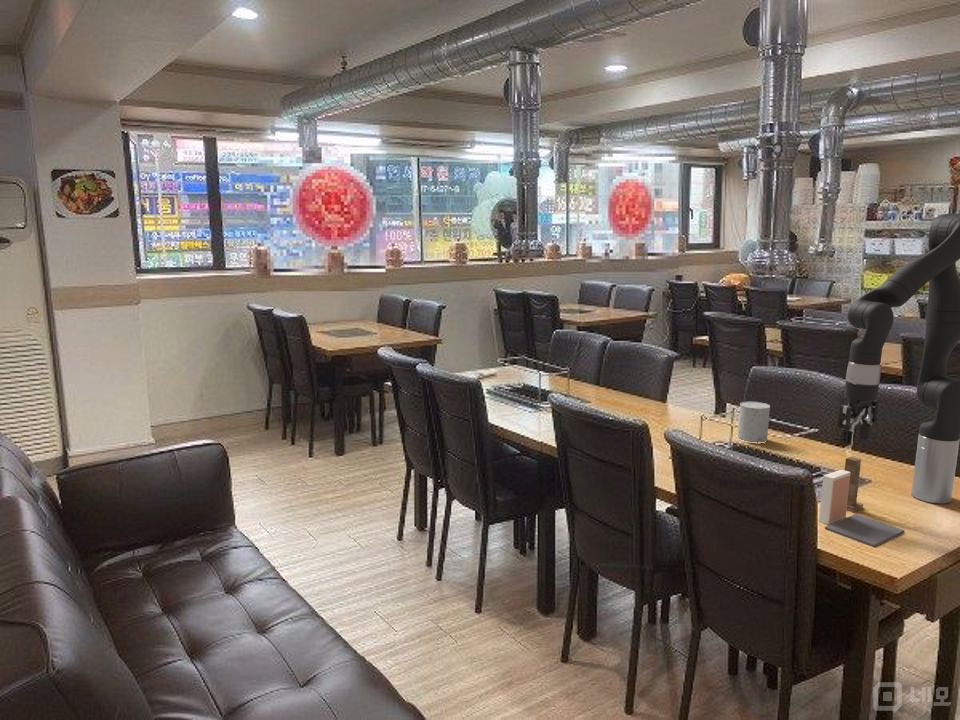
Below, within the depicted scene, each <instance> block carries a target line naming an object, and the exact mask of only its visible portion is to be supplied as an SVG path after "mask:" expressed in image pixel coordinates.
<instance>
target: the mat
mask: <svg viewBox="0 0 960 720" xmlns="http://www.w3.org/2000/svg"><path fill="white" fill-rule="evenodd" d="M824 530H828V531H829V532H832V533H835V534H839V535H841V536H843V537H846V538H848V539H852V540H854V541H857V542H860V543H862V544H865V545H868V546H871V547H873V548H875V547H876V546H878V544H879V545H880V544H883V543H884V542H887V541H890V540H891V539H893V538H895V537H897V536H900V535H902V534H904V533H905V530H904V529H901V528H899V527H896V526H892V525H890V524H886V523H884V522H881V521H877V520H876V519H872V518H870V517H867V516H863V515H861V514H858V513H854V514H853V515H850V516H848V517H845V518H843V519H841V520H838V521H836V522H833V523H831V524H829V525H826V526H824Z"/></svg>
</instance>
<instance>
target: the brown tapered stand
mask: <svg viewBox="0 0 960 720" xmlns="http://www.w3.org/2000/svg"><path fill="white" fill-rule="evenodd" d="M844 463H845V464H844V470H845V471H848V472H851V473H850V482H849V491H848V501H847V510H846V512H850V513H854V512H856V511H859V510H862V509H864V503H862V502H860V501H858V490H859V483H860V472H861V465H862V459H861V458H858V457H854V456H849V457H846V458H845V462H844Z"/></svg>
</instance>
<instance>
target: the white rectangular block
mask: <svg viewBox="0 0 960 720" xmlns="http://www.w3.org/2000/svg"><path fill="white" fill-rule="evenodd" d="M850 473H851V472H848V471H845V469H844V470H843V469H839V470H836V471H832V472H830V473H827V474H824V475H823V477H822V484H821V496H820V506H819V507H820V508H819V516H818V522H819V523H822V524H825V525H826V526H828V525H831V524H833V523H835V522H838V521H840V520H842V519H845V518H847V517H846V516H847V501H848V491H849V482H850Z"/></svg>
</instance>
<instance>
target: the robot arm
mask: <svg viewBox="0 0 960 720" xmlns="http://www.w3.org/2000/svg"><path fill="white" fill-rule="evenodd" d="M959 260H960V213H943V214H939V215H937V216H936V217H935V218H934V220H933V221H932V223H931V225H930V228H929V232H928V252H926V253H925V254H923V255H921V256H919V257H917V258H915V259H912V260H910V261H909V262H907V263H906V264H904V265H902V266H901V267H900V268H898V269H896V270H895V271H894V273H892V274H891V275H890V276H889V277H888V278H887V279H886V280H885V281H884V282H883V283H882V284H880V285H879V286H877V287H876V288H874V289H871V290H870V291H868V292H867V293H865V294H863V295H862V296H860V297H859V298H858V299H856V300H855V301H853V303H852V304H851V305H850V307H849V309H848V311H847V315H846V317H847V321H848V323H849V324H850V325H851V326H852V327H855V328H857V329H858V328H859V329H862V330H863V329H864V330H865V332H864V335H863V337H861V338H859V337H858V338H855V339H853V341H851V343H850V347H849V348H850V349H849V350H850V352H849V359H848V363H847V369H846V374H845V381H844V382H845V384H844V391H843V395H844V397H845V398H847V399H848V403H847V405H844V404H841V405H840V408H839V414H838V415H839V416H838V420H837V429H841V430H842V434H841V444H842V445H844V446H852V441H853V433H854V429H855V427H856V425H858V424H859V423H860V428H859V429H860V430H859V437H858V438H859V439H861V440H863V441H867V440H870V435H871V434H870V433H871V427H873V425H874V423H877V420H878V411H879V410H878V408H879V400H878V397H879V396H878V395H879V390H880V389H879V388H880V379H881V363H882V362H881V361H882V354H883V347H884V345H885V344H886V341H887V339H888V336H889V334H890V332H891V329H892V326H894V325H893V324H894V320H895V319H894V318H895V317H894V311H893V309H892V308H899V307H901V306H903V305H905V304H906V303H907V302H908V301H909V300H910V299H911V298H912V297H913V296H914V295H916V293H917V292H918V291H919V290H921V289H922V288H923V287H924V286H925V285H927V283H928V295H927V296H928V297H927V305H926V314H925V316H926V317H925V334H924V344H923V352H922V353H923V354H922V358H921V359H922V360H921V364H920V370H919V375H918V379H917V386H916V397H917V401H918V403H919V404H920V405H921V406H923V407H925V408H928V409H931V410H932V411H933V410H934V411H936V415H935V418H934V420H933V421H932V420H930V421H925V422H922V423H921V424H920V425H919V427H918V428H919V430H918V437H917V446H916V452H915V453H916V454H915V462H914V469H913V470H914V471H913V476H912V487H911V496H912V497H914V498H915V499H918V500H920V501H923V502H927V503H931V504H949V503H951V502H952V498H953V497H952V496H953V491H954V484H955V476H956V469H957V462H958V461H957V460H958V454H959V446H960V379H956V378H952V377H949V376H947V366H948V361H949V357H950V355H951V352H952V351H953V350H954V349H955V347H956V346H957V345H958V344H959V342H960V277H959V275H958V272H957V264H956V263H957V262H958V261H959Z"/></svg>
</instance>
